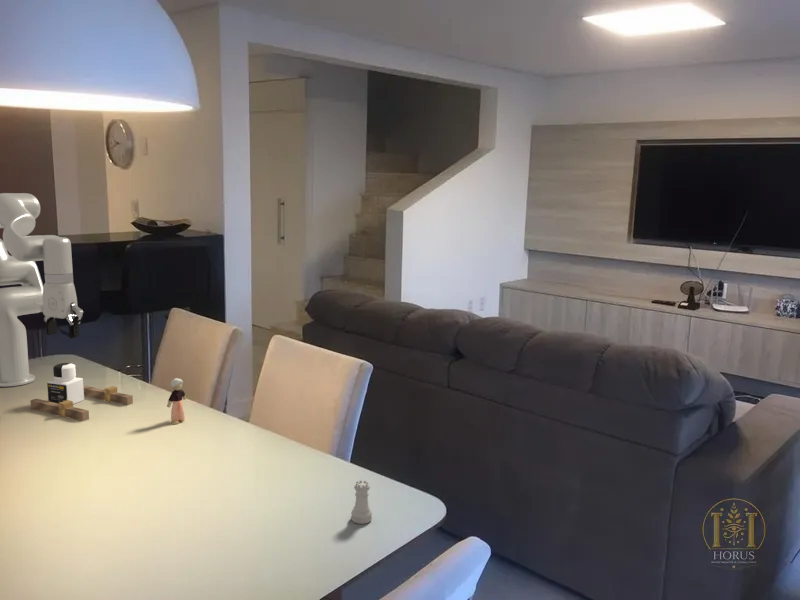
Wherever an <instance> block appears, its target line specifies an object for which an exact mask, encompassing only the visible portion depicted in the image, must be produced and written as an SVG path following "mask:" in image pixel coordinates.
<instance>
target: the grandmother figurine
mask: <svg viewBox="0 0 800 600" xmlns="http://www.w3.org/2000/svg"><path fill="white" fill-rule="evenodd" d="M183 382H184V381H183V380H182V379H181V378H179V377H176V378H174V379H172V380H171V382H170V386H171V388H172V389H173V390H172V391H171V394H170V396H169V398H168V400H167V405H166V407H167V408H171V411H170V413H171V414H170V422H169V423H170V424H171V425H178V424H180V423H182V422H184V421H185V419H186V414H185V409H184V404H183V401H185V400H187V397H186V392H185V391H184V390H183V389H182V387H183Z"/></svg>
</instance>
